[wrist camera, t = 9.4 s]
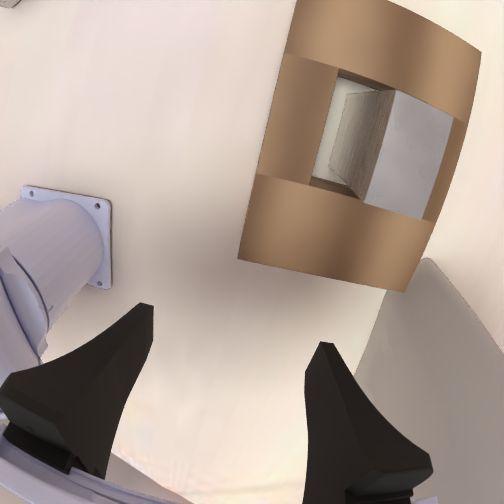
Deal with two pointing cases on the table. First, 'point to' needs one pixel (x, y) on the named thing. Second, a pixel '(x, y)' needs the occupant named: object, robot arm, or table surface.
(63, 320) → the table surface
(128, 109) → the table surface
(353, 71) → the well block
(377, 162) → the brushed metal block
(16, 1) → the skincare box
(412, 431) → the tall grey carton
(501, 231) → the table surface
